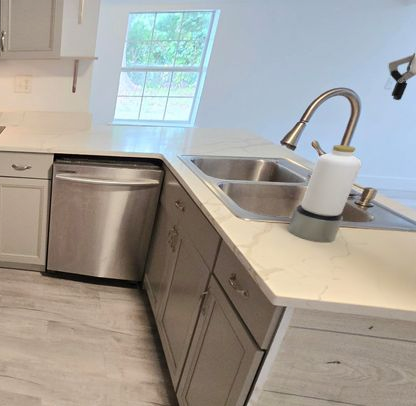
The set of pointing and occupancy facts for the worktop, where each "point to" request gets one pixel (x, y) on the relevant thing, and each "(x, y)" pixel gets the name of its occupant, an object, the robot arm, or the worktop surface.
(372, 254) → the worktop surface
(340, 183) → the white bottle
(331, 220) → the grey cylinder
